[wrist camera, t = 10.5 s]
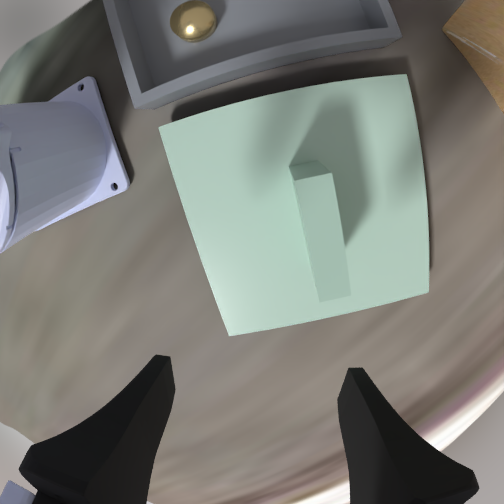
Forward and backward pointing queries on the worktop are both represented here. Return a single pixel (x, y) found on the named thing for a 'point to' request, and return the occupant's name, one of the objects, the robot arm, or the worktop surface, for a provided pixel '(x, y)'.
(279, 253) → the lid
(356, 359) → the worktop surface
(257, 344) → the worktop surface
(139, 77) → the tub
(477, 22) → the sandwich container
